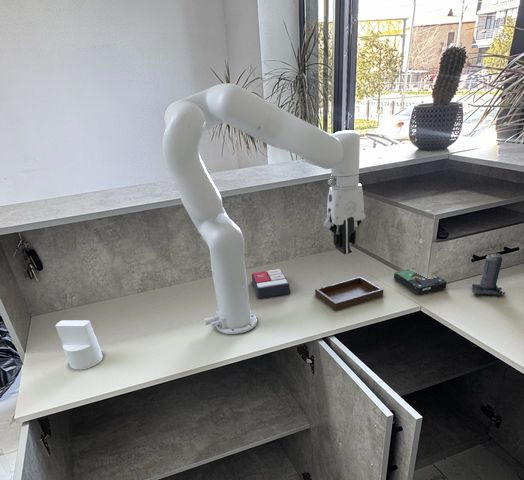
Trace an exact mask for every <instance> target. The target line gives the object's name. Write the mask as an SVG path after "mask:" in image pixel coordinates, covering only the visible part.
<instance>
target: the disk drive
mask: <svg viewBox="0 0 524 480" xmlns="http://www.w3.org/2000/svg"><path fill="white" fill-rule="evenodd" d="M409 269H410V268H406V269H404V270H399V271H395V272H394V273H393V279H394V280H395V281H397V282H398V283H400V284H401V285H403V286H404V287H406V288H407V289H409V290H410V291H411V292H412V293H415V294H416V295H418V296H420V295H424V294H429V293H433V292H437V291H442V290H445V289H447V281H446V280H445V279H443V278H441V277H439V276H438V277H437V278H433V279H427V278H425V277H423V276H421V275H419V274H417V273H415V272H413V271H411V270H409Z"/></svg>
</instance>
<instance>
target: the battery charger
mask: <svg viewBox="0 0 524 480" xmlns="http://www.w3.org/2000/svg"><path fill="white" fill-rule="evenodd" d="M354 231H355V226H354V218H353V217H350V218H346V219H345V220H344V223H343V225H341V230H340V234H341V235H342V247H340V248H339V247H337V246H335V245H334V248H335V249H336V250H337V251H339V253H341V254H343V255H348V254H351V253H353V248H351V246H350V245H351V244H350V242H349V238H350V236H351V233H354Z"/></svg>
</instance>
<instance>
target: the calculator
mask: <svg viewBox="0 0 524 480" xmlns="http://www.w3.org/2000/svg"><path fill="white" fill-rule="evenodd" d="M251 281H252V285H253V288H254V290H255V292H256V296H257V298H258V299H264V298H271V297H277V296H278V297H279V296H284V295H289V294H291V287H290V282H289V281H288V279H287V277H286V276H285V274H284V272H283V271H282V269H280V268H277V269H276V268H275V269H271V270H270V269H269V270H264V271H263V270H262V271H256V272H252V273H251Z"/></svg>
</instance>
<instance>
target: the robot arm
mask: <svg viewBox="0 0 524 480" xmlns="http://www.w3.org/2000/svg"><path fill="white" fill-rule="evenodd" d="M163 119H164V125H165V129H164V130H163V131H164V132H163V136H162V142H161V143H162V145H161V146H162V158H163V161H164V164H165V166H166V169H167V170H168V172H169V174H170V176H171V178H172V180H173V182H174V184H175V186H176V188H177V190H178V192H179V194H180V200H181V204H182V205H183V207H184V209H185V211H186V212H187V214H188V216H189V217H190V219H191V221H192V223H193V224H194V226H195V228H196V229H197V231H198V233H199V234H200V237H202V240H203V241H204V242H205V244H206V245H207V247H208V250H209V257H210V267H211V269H210V270H211V276H212V281H213V287H214V293H215V299H216V304H217V310H216V311H215V314H214V315H213V316H211V317H206V318H203V323H204V325H205V326H209V325H210V326H211V328H213V327H215V328H216V330H217V331H218V332H220V333H222V334H225V335H238V334H243V333H247V332H249V331H250V330H253V328H255V327H256V326H257V323H258V319H257V316H256V315H255V314H253V313H252V312H251V305H250V303H251V302H250V295H249V285H248V278H247V270H246V260H245V251H246V250H245V249H246V248H245V238H244V234H243V232H242V230H241V228H240V227H239V226H238V225H237V224H236V223H235V222H234V221H233V220H232V219H231V218H230V217H229V215H228V214H227V212H226V210H225V208H224V206H223V197H222V196H221V193H220V191H219V189H218V188H217V186H216V185H215V183H214V180H213V179H212V178H211V175H210V174H209V172H208V170H207V168H206V165H205V164H204V163H205V162H204V161H203V159H202V157H201V153H200V143H201V139H202V137H203V135H204V134H205V132H206V131H208V130H210V129H214V128H215V127H217V126H219V125H220V126H221V125H222V124H226V125H227V126H230V127H232V128H234V129H236V130H238V131H240V132H242V133H245V134H246V135H249V136H250V137H252V138H254V139H256V140H258V141H260V142H262V143H263V144H265V145H266V144H267V145H268V146H271V147H273V148H276V149H279V150H283V151H287V152H289V153H292V154H293V155H297V156H299V157H301V158H302V159H303V160H304V161H305V163H308V164H309V165H312V166H315V167H318V168H322V169H324V170H330V173H331V175H330V178H329V179H328V180H327V184H328V186H329V189H328V193H327V194H328V196H327V203H326V204H327V205H326V217H325V219H324V221H323V224H322V226H323V227H324V228H327V229H328V230H329V231H331V233H332V234H333V235H332V237H333V244H334V245H333V246H334V247H335V246H337V247H339V248H340V247H342V235H341V234H340V230H341V225H343V223H344V220H345V219H346V218H350V217H353V218H354V226H355V231H354V233H351V236H350V238H349V244H352V245H355V244H356V239H357V237H356V236H357V231H358V230H359V226H360V225H361V223H362V222H363V221H364V220H365V219H366V218H367V215H366V213H365V202H364V201H365V200H364V191H363V190H364V189H363V186H362V184H361V183H360V152H361V151H360V145H361V138H360V137H361V136H360V133H359V132H358V131H356V130H341V131H336V132H335V133H329V132H327V131H325V130H323V129H322V128H319V127H318V126H316V125H314V124H312V123H310V122H308V121H306V120H304V119H302V118H300V117H298V116H295V115H294V114H293V113H291V112H289V111H287V110H284V109H283V108H281V107H279V106H277V105H275V104H273V103H271V102H269V101H268V100H266V99H264V98H262V97H260V96H259V95H257V94H255V93H254V92H251V91H249V90H247V89H246V88H245V87H242V86H240V85H238V84H236V83H232V82H231V83H230V82H228V83H227V82H226V83H218V84H216V85H213V86H211V87H209V88H206V89H204V90H202V91H199V92H196V93H194V94H192V95H189V96H186V97H184V98H183V97H182V98H181V99H179V100H176V101H174V102H172V103H171V104H170V105H169V106H168V107H167V108H166V109H165V113H164V117H163ZM331 223H332V224H331Z"/></svg>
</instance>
